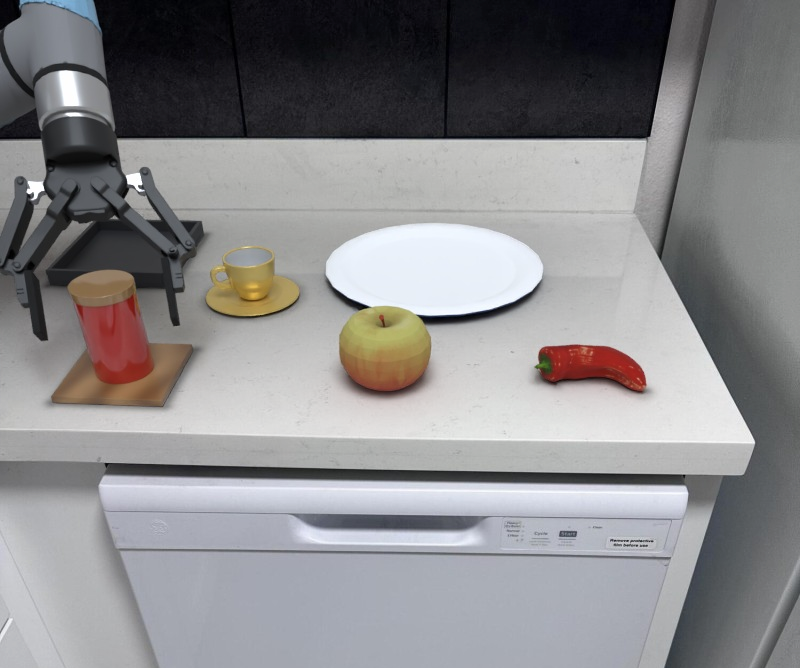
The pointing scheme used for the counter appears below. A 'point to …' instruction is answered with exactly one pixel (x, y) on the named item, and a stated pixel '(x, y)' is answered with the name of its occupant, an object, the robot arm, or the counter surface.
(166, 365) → the board
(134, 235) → the tray
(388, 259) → the plate
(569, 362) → the vegetable
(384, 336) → the apple
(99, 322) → the spice jar
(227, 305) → the cup
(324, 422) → the counter surface
